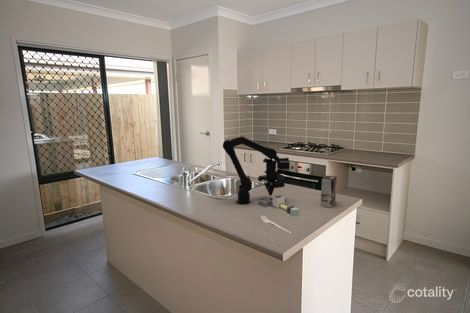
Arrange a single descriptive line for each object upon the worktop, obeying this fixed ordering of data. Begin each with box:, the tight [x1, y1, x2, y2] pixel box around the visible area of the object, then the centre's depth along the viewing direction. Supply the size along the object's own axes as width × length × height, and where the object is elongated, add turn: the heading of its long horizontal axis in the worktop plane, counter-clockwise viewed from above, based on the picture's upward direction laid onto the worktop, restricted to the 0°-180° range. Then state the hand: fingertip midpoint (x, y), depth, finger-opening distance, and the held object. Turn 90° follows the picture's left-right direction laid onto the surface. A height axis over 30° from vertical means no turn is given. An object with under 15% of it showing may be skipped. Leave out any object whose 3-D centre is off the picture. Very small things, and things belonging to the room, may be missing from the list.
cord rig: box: [258, 197, 300, 216], centre depth 158 cm, size 23×16×3 cm
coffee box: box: [320, 175, 338, 208], centre depth 162 cm, size 9×6×16 cm
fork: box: [260, 215, 291, 234], centre depth 137 cm, size 3×20×2 cm, turn 35°
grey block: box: [272, 195, 286, 209], centre depth 161 cm, size 5×5×5 cm
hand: (270, 195), depth 167 cm, fingers closed
